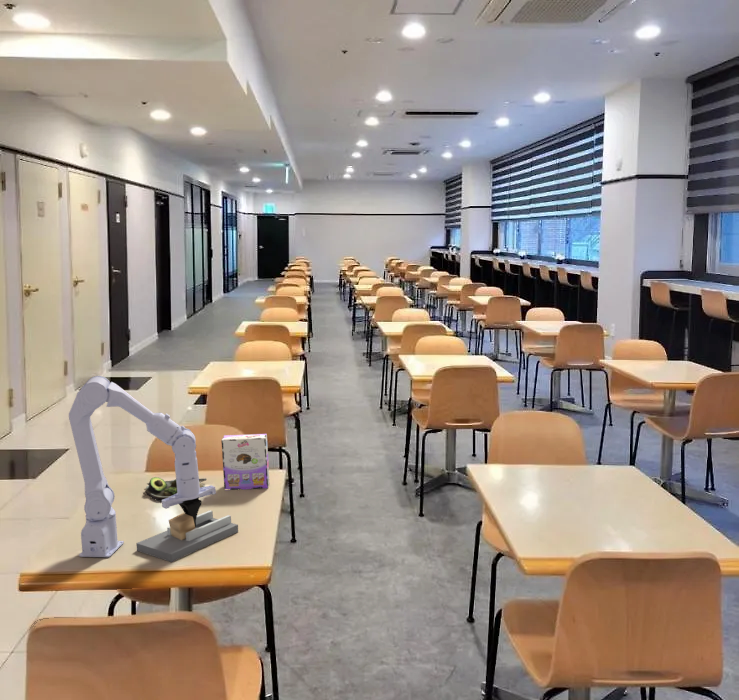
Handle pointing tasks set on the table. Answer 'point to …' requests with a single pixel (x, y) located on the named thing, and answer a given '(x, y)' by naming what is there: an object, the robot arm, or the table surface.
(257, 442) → the cake mix box
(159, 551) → the rail jig base
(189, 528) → the block
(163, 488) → the salad plate
